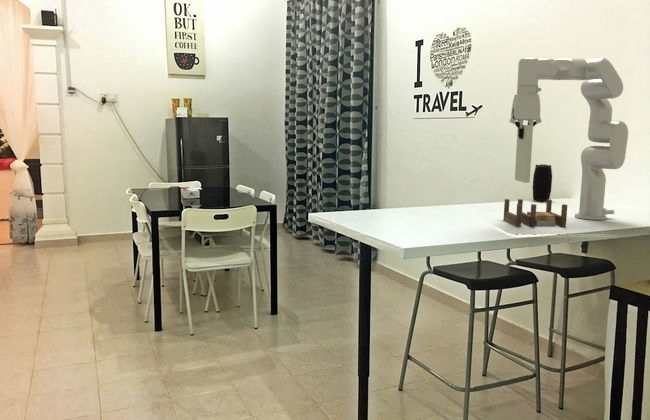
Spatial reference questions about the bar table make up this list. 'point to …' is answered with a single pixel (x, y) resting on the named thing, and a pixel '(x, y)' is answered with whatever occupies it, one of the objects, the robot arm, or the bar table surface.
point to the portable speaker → (542, 182)
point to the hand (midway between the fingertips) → (524, 138)
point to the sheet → (524, 155)
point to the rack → (532, 214)
